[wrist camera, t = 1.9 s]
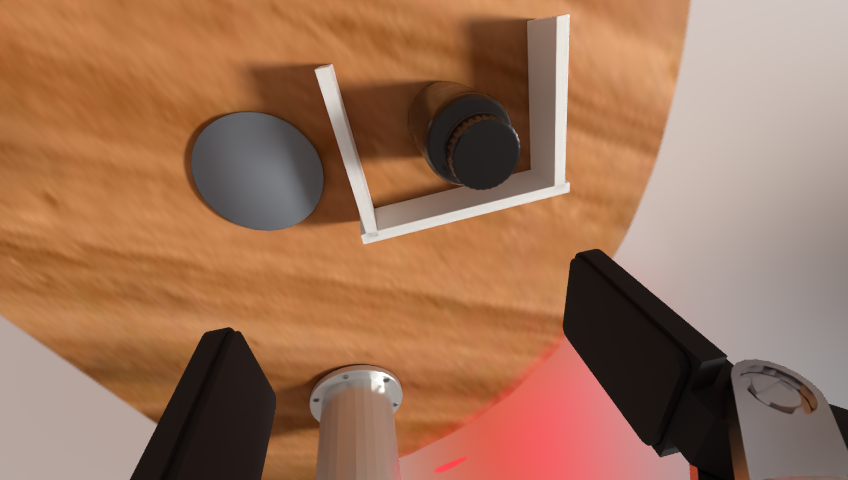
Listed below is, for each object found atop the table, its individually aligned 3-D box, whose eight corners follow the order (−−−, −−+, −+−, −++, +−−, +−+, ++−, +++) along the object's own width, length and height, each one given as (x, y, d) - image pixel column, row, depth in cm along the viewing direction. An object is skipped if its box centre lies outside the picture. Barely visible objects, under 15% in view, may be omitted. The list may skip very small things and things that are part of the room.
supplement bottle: (395, 140, 32) (416, 184, 22) (425, 66, 30) (464, 77, 20) (458, 166, 35) (503, 216, 25) (490, 100, 32) (556, 125, 22)
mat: (338, 212, 35) (338, 215, 34) (229, 239, 34) (228, 242, 34) (299, 98, 29) (298, 99, 29) (167, 128, 29) (164, 129, 28)
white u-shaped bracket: (544, 175, 37) (569, 191, 33) (362, 220, 36) (363, 244, 32) (543, 17, 30) (575, 12, 25) (314, 67, 28) (307, 71, 24)
